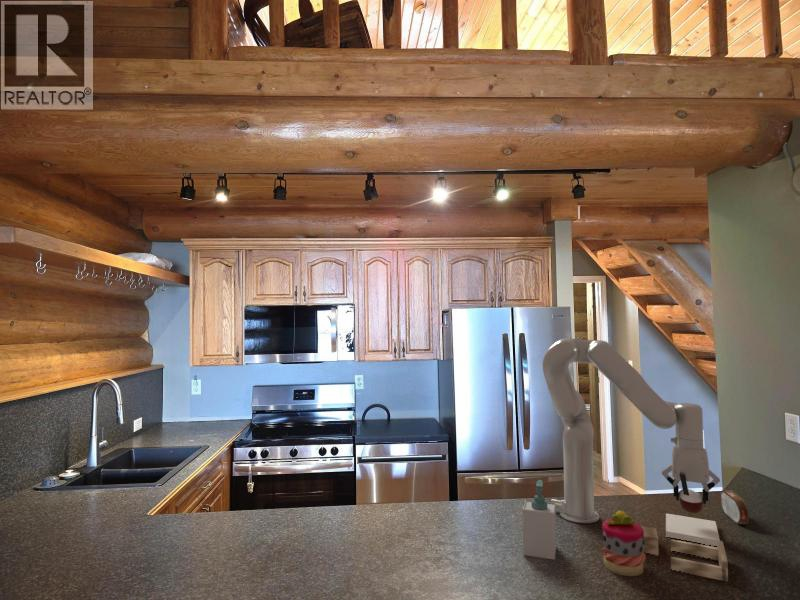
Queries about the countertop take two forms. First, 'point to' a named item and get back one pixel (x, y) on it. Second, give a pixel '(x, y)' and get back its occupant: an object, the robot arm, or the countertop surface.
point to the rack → (698, 567)
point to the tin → (734, 507)
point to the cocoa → (689, 498)
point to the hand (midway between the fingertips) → (690, 500)
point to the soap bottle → (539, 526)
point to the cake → (623, 545)
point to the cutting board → (692, 529)
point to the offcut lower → (650, 549)
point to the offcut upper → (650, 537)
